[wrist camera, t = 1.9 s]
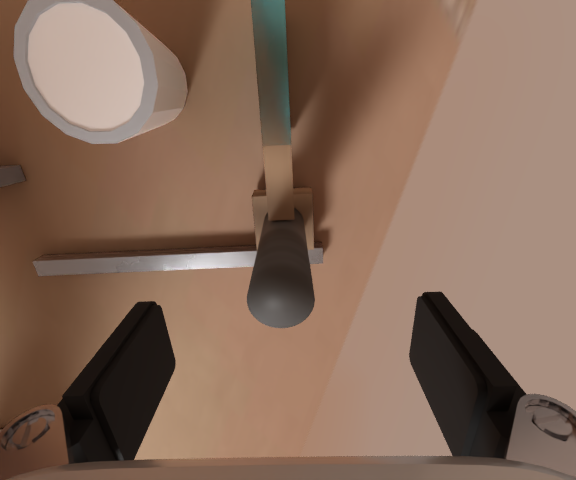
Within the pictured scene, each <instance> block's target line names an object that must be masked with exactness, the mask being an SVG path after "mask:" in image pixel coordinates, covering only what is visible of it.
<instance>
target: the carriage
mask: <svg viewBox="0 0 576 480" xmlns="http://www.w3.org/2000/svg"><path fill="white" fill-rule="evenodd" d="M251 8H252V20H253V33H254V45H255V58H256V70H257V83H258V95H259V108H260V120H261V133H262V145H263V157H264V170H265V182H266V190H254V193H253V195H252V206H253V216H254V226H255V236H256V246H257V254H256V258H255V263H254V267H253V272H252V276H251V281H250V285H249V290H248V294H247V304H248V308H249V310H250V312H251V314H252V315H253V316H254V317H255V318H256V319H257V320H258V321H259V322H261V323H263V324H265V325H267V326H270V327H274V328H288V327H292V326H295V325H297V324H299V323H301V322H303V321H304V320H305V319H306V318H307V317H308V316H309V315H310V313H311V312H312V310H313V307H314V301H315V298H314V290H313V283H312V276H311V269H310V262H309V255H308V250H314V229H313V193H312V189H311V187H309V188H293V173H292V151H291V129H290V107H289V85H288V62H287V40H286V18H285V0H251Z"/></svg>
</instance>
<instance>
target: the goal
mask: <svg viewBox="0 0 576 480" xmlns="http://www.w3.org/2000/svg"><path fill="white" fill-rule="evenodd" d="M22 181H26V179H25V177H24V174H23V172H22V169H21V167H20V165H10V166H0V187H3V186H7V185H11V184H15V183H19V182H22Z"/></svg>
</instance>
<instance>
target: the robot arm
mask: <svg viewBox="0 0 576 480" xmlns="http://www.w3.org/2000/svg"><path fill="white" fill-rule="evenodd" d="M409 357H410V362H411V365H412V367H413V369H414V372H415V374H416V376H417V378H418V381H419V383H420V385H421V387H422V389H423V392H424V394H425V396H426V398H427V400H428V402H429V405H430V407H431V409H432V411H433V413H434V415H435V418H436V420H437V422H438V425H439V427H440V429H441V431H442V433H443V435H444V438H445V440H446V442H447V444H448V446H449V449H450V451H451V453H452V455H453V456H346V457H345V456H343V457H342V456H336V457H335V456H334V457H261V458H204V459H156V460H134V458H135V456H136V454H137V452H138V449H139V447H140V445H141V443H142V441H143V438H144V436H145V434H146V432H147V429H148V427H149V425H150V423H151V421H152V418H153V416H154V414H155V412H156V410H157V407H158V405H159V403H160V401H161V398H162V396H163V394H164V392H165V390H166V387H167V385H168V383H169V381H170V379H171V376H172V374H173V372H174V369H175V357H174V353H173V349H172V346H171V342H170V338H169V334H168V330H167V327H166V323H165V319H164V315H163V311H162V308H161V306H160V305H157V304H156V302H154V301H149V302H137V303H136V304H135V305H134V307H133V308H132V309H131V310H130V312H129V313H128V314H127V315H126V317H125V318H124V319H123V320H122V322H121V323H120V324H119V325H118V327H117V328H116V329H115V330H114V332H113V333H112V334H111V335H110V337H109V338H108V339H107V340H106V342H105V343H104V344H103V345H102V347H101V348H100V349H99V350H98V352H97V353H96V354H95V356H94V357H93V358H92V359H91V361H90V362H89V363H88V364H87V366H86V367H85V368H84V369H83V371H82V372H81V373H80V374H79V376H78V377H77V378H76V379H75V381H74V382H73V383H72V384H71V386H70V387H69V388H68V389H67V391H66V392H65V393H64V394H63V396H62V397H63V399H62V400H61V401H60V402H59V404H58V405H57V406H56V405H52V404H46V405H41V406H37V407H35V408H32V409H30V410H28V411H26V412H24V413H22V414H21V415H19V416H17V417H16V418H15V419H13V420H12V421H11V422H9V423H8V424H7V425H6V426H5V427H4V428H3V429H0V480H576V411H575V410H573V409H572V408H571V407H569V406H568V405H566V404H564V403H562V402H560V401H558V400H557V399H554V398H551V397H548V396H545V395H540V394H526V393H525V392H524V391H523V389H521V387H520V386H519V385H518V383H517V382H516V381H515V380H514V378H513V377H512V376H511V375H510V373H509V372H508V371H507V370H506V369H505V367H504V366H503V365H502V364H501V362H500V361H499V360H498V359H497V357H496V356H495V355H494V354H493V352H492V351H491V350H490V349H489V347H488V346H487V345H486V344H485V342H484V341H483V340H482V339H481V338H480V336H479V335H478V334H477V333H476V332H475V331H474V330H472V329H471V328H470V327H469V325H468V324H467V323H466V322H465V321H464V319H463V318H462V317H461V315H460V314H459V313H458V312H457V310H456V309H455V308H454V307H453V305H452V304H451V303H450V302H449V300H448V299H447V298H446V297H445V295H444V294H443V293H442V292H424V293H423V294H422V296H421V297H418V298H417V304H416V311H415V318H414V325H413V332H412V339H411V346H410V353H409Z"/></svg>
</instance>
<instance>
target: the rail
mask: <svg viewBox="0 0 576 480" xmlns="http://www.w3.org/2000/svg"><path fill="white" fill-rule="evenodd" d="M256 254H257V246H256V245H248V246H226V247H205V248H183V249H162V250H140V251H119V252H97V253H76V254H54V255H42V256H41V257H39V258H37V259H35V260H34V261H32V262H33V264H34V267H35V269H36V271H37V274H38V276H52V275H75V274H97V273H119V272H141V271H163V270H186V269H208V268H230V267H252V266H254V263H255V258H256ZM308 255H309V262H310V264H319V263H323V247H322V243H321V242H314V250H308Z"/></svg>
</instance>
